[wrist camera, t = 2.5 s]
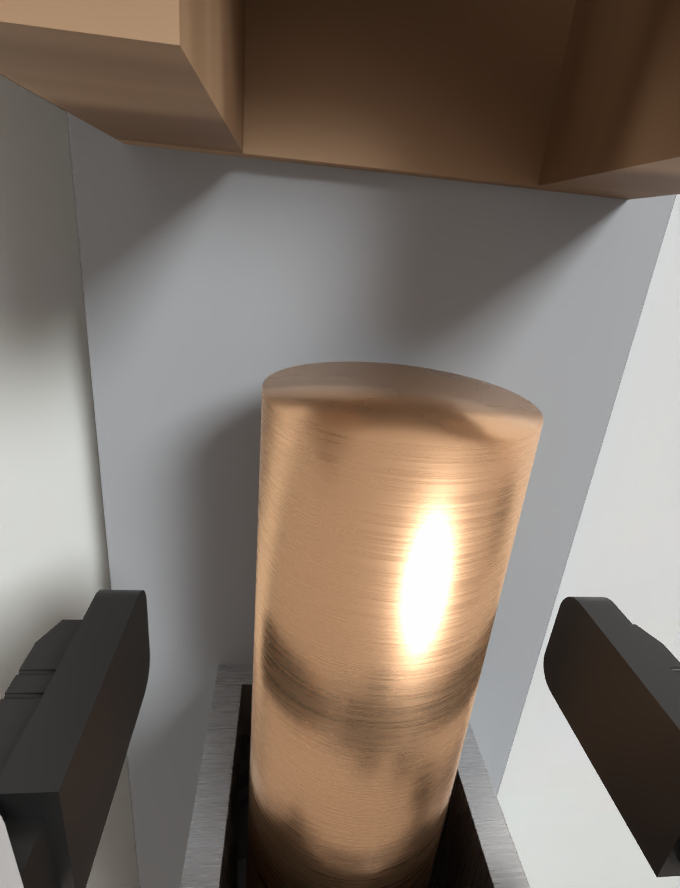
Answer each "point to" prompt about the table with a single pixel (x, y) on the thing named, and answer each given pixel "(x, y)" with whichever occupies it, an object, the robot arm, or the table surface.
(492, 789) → the steel sleeve
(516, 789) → the table surface
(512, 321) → the rubber mat
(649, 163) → the walnut socket
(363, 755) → the copper tube
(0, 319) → the table surface
